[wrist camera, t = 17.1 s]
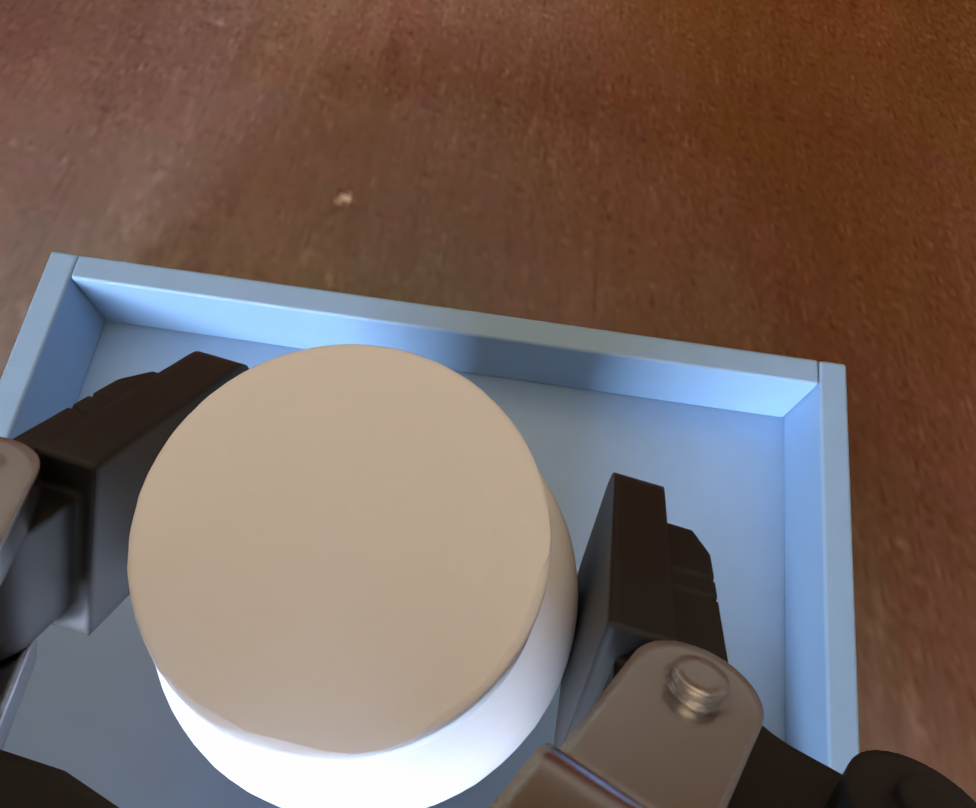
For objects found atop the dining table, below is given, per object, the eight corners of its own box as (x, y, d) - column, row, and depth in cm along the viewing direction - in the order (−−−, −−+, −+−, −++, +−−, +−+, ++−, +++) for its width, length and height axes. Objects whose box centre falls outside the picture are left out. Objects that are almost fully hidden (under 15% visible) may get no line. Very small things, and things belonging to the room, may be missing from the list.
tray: (799, 406, 19) (847, 363, 17) (807, 1080, 14) (876, 1147, 12) (97, 306, 20) (50, 249, 17) (-133, 939, 15) (-243, 979, 12)
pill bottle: (546, 534, 17) (652, 323, 8) (510, 807, 15) (601, 912, 6) (300, 494, 18) (147, 244, 9) (233, 761, 16) (-60, 800, 7)
